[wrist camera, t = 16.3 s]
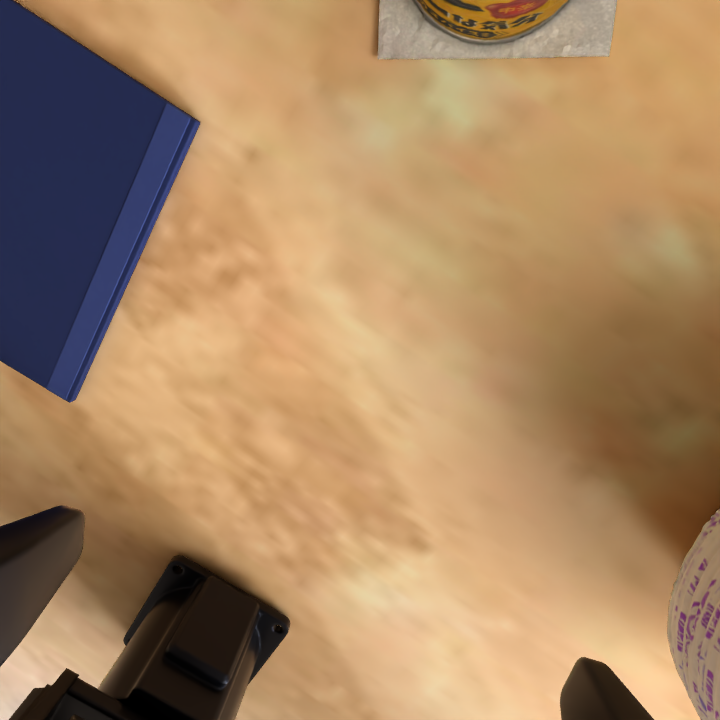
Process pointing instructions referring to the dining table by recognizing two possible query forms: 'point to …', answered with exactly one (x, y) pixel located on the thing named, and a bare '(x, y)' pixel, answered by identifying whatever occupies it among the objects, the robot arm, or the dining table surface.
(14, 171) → the cloth
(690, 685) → the paper bowls
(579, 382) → the dining table surface
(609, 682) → the robot arm
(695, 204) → the dining table surface
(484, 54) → the condiment
